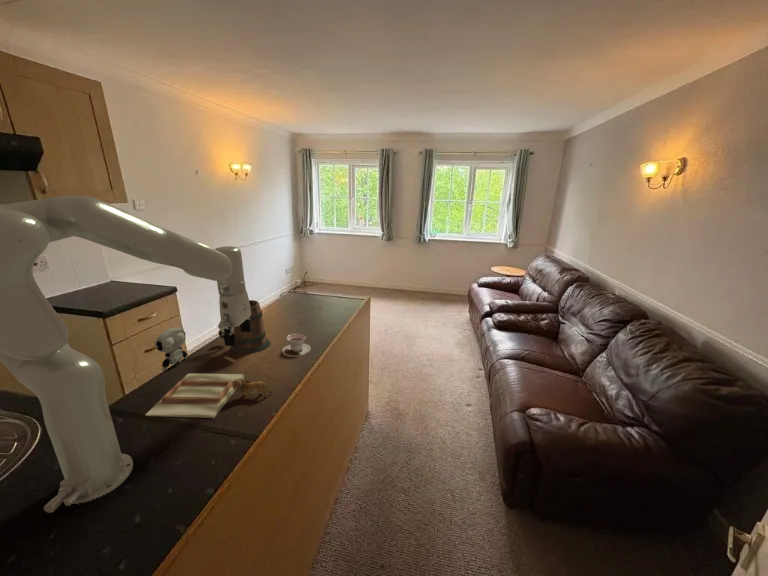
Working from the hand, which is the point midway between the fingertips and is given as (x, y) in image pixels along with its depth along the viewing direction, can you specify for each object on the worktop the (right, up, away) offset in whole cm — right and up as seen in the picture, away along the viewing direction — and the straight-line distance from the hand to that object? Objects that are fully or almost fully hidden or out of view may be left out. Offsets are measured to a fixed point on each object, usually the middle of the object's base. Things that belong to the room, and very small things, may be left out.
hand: (238, 338), depth 100 cm
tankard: (-15, -10, +38) cm, 42 cm away
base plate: (-14, -20, +4) cm, 25 cm away
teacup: (+9, -11, +35) cm, 38 cm away
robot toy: (-34, -14, +21) cm, 42 cm away
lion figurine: (+3, -20, +4) cm, 21 cm away
